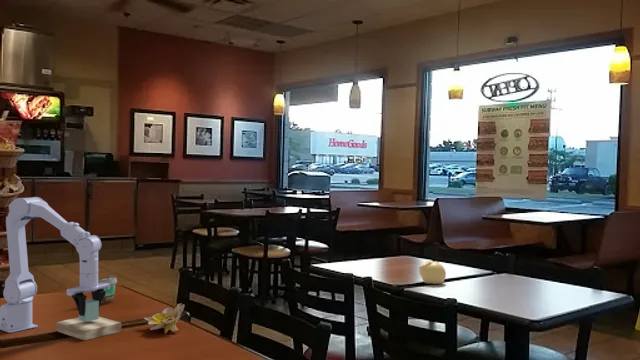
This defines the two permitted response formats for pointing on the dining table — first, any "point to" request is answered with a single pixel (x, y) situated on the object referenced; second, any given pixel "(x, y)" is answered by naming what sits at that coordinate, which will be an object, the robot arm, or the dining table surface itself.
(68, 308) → the dining table surface
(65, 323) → the flat cream rectangular board
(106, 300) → the food container
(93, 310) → the teal block
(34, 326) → the robot arm
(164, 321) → the decorative flower
